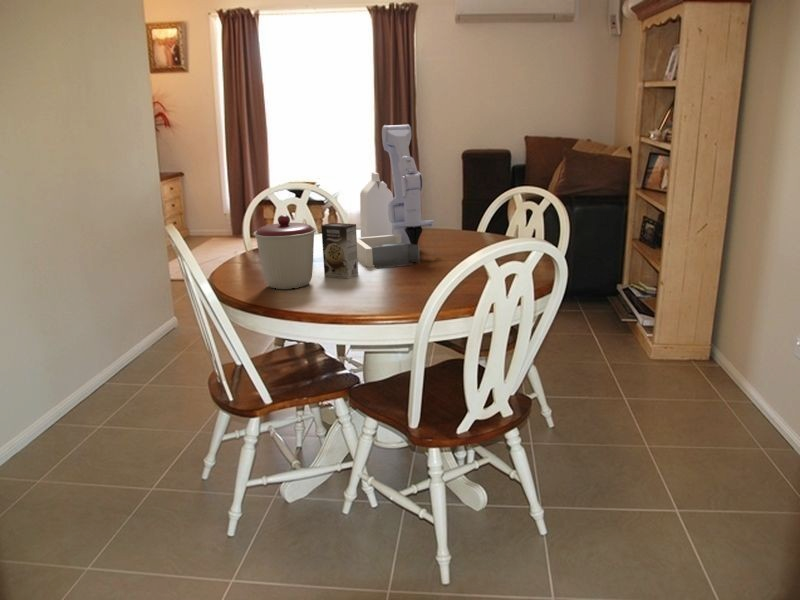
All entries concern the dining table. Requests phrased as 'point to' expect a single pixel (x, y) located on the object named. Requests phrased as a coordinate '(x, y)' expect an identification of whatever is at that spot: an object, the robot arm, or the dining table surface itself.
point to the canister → (286, 253)
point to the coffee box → (340, 250)
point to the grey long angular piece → (395, 255)
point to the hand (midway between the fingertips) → (414, 248)
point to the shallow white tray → (367, 242)
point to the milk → (375, 208)
